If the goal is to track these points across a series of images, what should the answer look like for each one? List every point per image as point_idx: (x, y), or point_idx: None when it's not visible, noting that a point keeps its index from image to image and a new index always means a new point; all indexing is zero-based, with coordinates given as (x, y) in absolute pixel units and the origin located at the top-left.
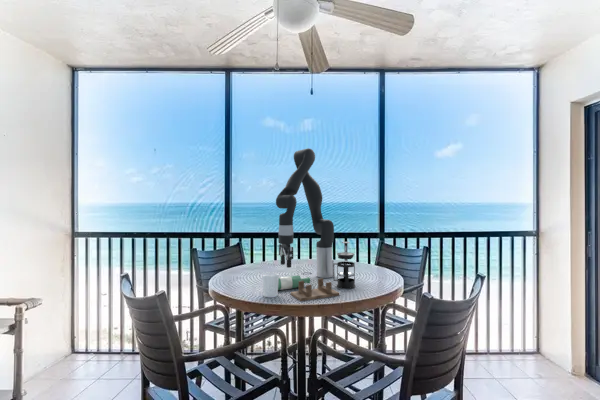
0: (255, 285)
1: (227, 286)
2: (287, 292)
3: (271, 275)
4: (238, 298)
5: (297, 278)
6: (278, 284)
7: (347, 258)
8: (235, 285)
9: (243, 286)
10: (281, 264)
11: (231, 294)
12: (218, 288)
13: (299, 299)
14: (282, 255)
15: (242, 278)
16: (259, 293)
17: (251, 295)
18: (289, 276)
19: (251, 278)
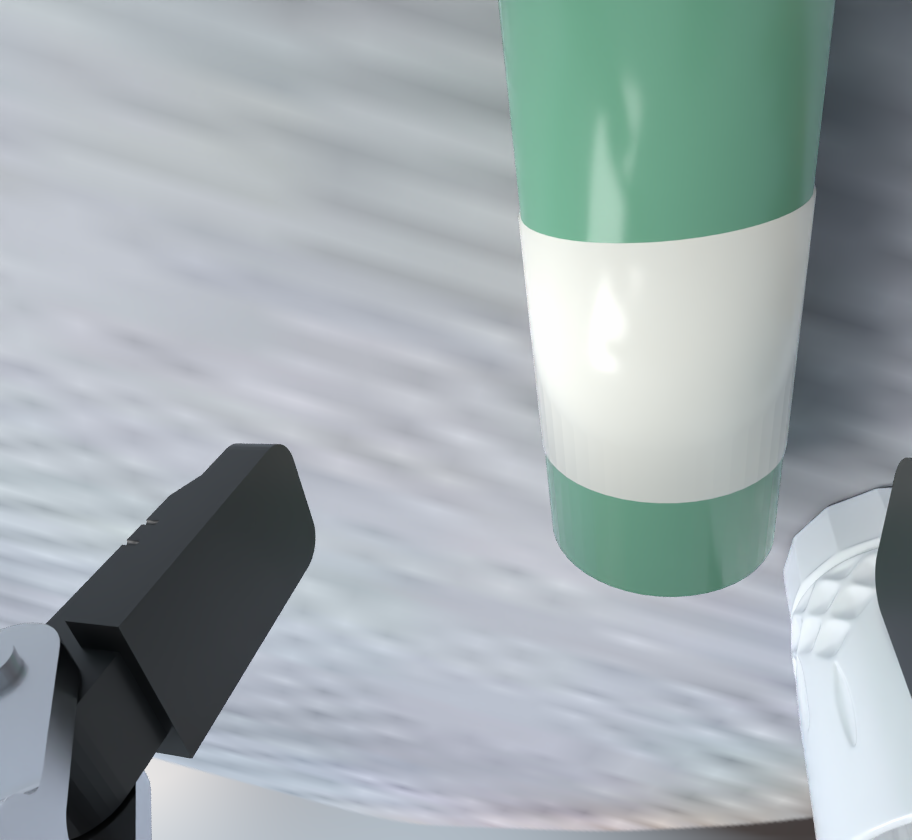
0: (327, 555)
1: (316, 740)
2: (907, 301)
3: (859, 776)
4: (785, 807)
5: (799, 23)
6: (779, 487)
7: None
8: (292, 689)
9: (345, 653)
10: (312, 538)
11: (608, 798)
12: (368, 797)
13: None
14: (83, 795)
15: (17, 569)
16: (710, 628)
17: (747, 707)
18: (665, 265)
19: (7, 498)
